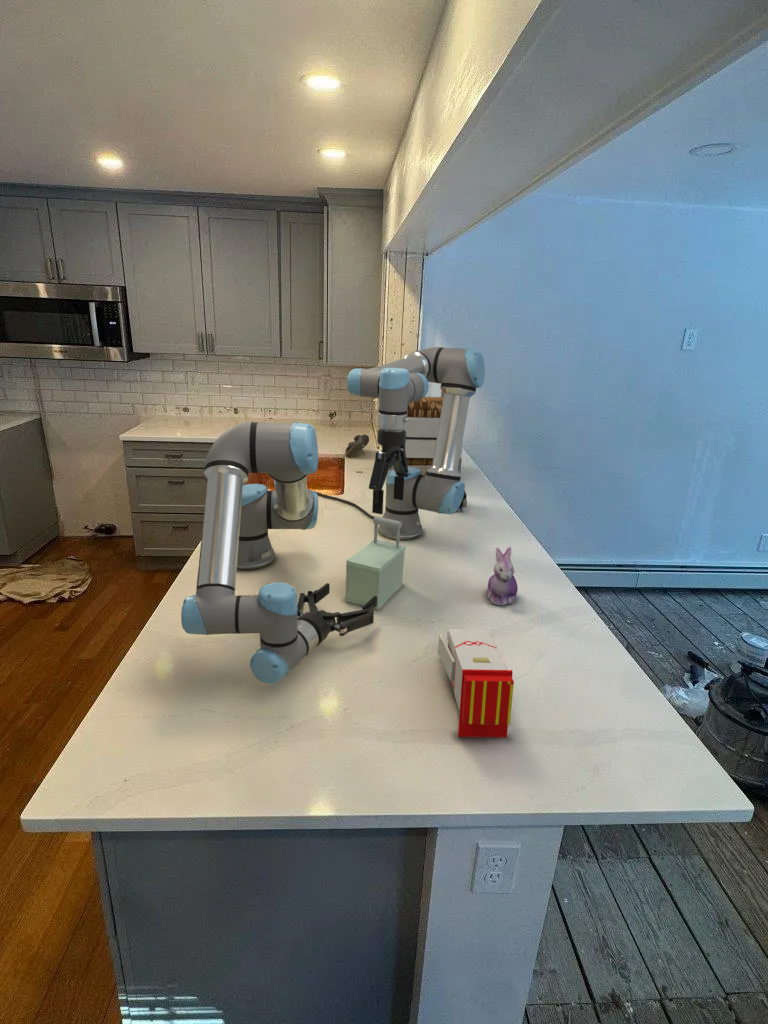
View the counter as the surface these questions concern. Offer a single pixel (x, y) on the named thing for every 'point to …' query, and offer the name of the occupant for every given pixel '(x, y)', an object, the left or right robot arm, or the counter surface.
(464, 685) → the toy
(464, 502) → the figurine character
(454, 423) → the right robot arm
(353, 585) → the chest
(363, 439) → the fossil
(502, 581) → the figurine
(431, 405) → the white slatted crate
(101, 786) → the counter surface
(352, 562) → the lid
